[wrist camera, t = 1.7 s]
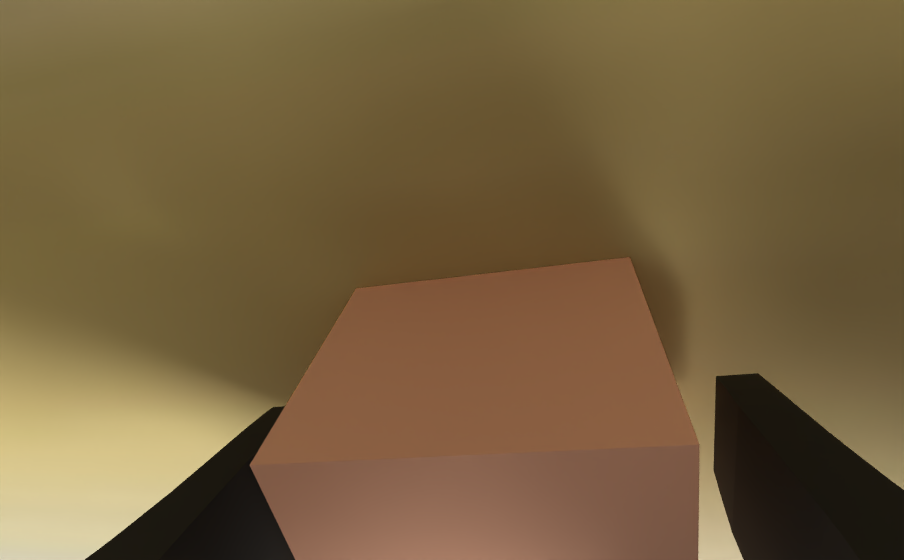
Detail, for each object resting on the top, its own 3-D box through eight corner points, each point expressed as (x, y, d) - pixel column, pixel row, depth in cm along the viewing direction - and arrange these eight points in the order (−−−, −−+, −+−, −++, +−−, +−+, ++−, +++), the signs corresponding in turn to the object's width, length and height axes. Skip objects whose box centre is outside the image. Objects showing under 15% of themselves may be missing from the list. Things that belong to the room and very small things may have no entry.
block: (629, 254, 9) (698, 444, 5) (640, 465, 12) (696, 711, 8) (357, 286, 10) (250, 465, 6) (414, 474, 13) (361, 695, 9)
